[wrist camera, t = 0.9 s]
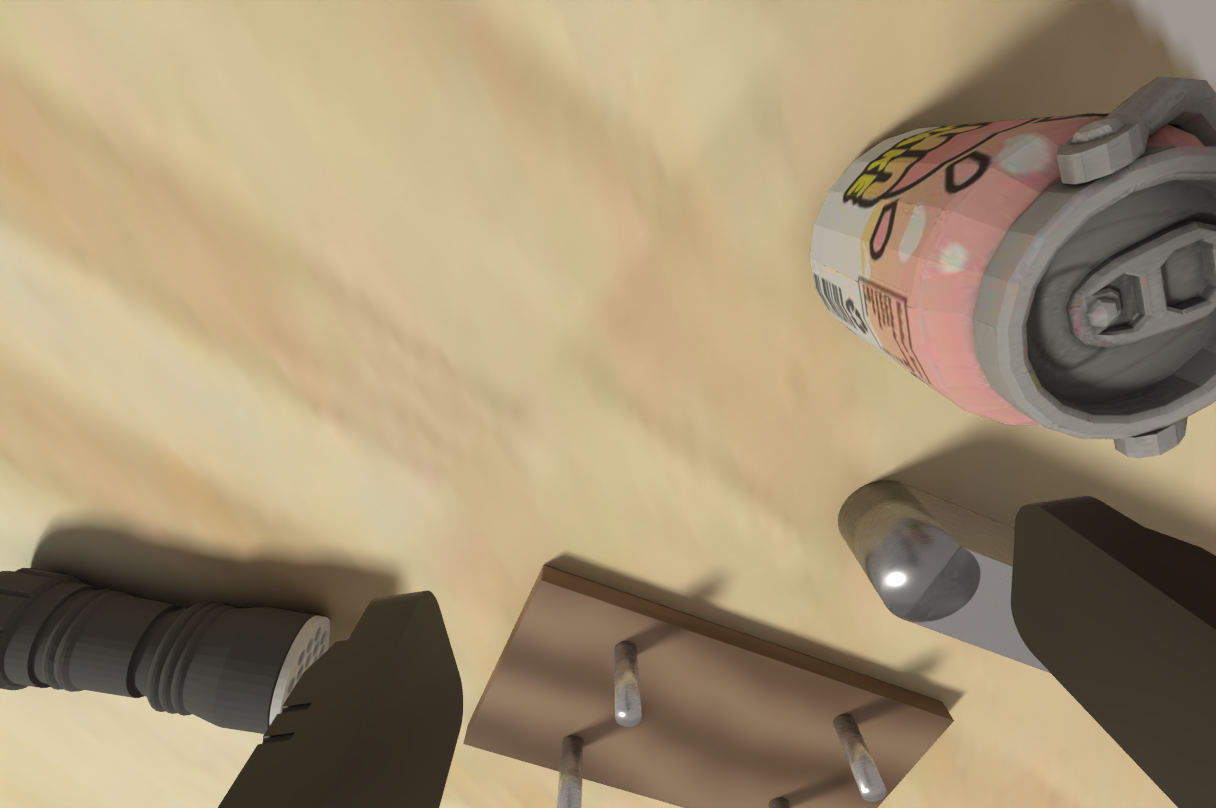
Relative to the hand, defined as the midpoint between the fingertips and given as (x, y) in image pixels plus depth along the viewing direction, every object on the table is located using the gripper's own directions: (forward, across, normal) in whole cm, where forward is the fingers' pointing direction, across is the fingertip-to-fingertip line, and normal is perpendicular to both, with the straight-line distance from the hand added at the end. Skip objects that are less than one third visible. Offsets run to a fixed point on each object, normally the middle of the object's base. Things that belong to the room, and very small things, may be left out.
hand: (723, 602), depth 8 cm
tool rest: (+20, 0, +23) cm, 30 cm away
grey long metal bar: (+19, -17, +15) cm, 30 cm away
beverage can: (+18, -12, -2) cm, 22 cm away
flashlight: (+20, +25, +11) cm, 34 cm away
